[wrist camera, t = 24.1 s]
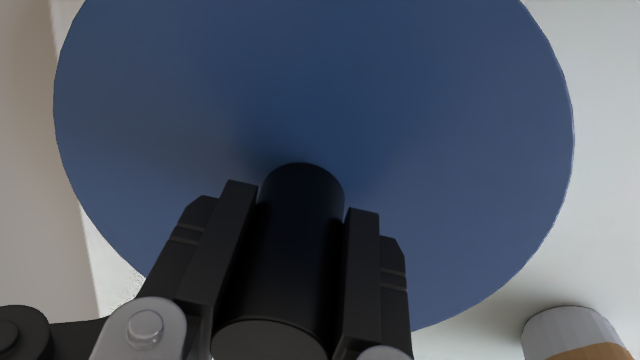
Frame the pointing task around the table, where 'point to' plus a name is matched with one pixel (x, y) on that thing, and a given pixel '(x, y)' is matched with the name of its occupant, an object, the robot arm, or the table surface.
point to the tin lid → (319, 145)
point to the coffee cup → (571, 336)
